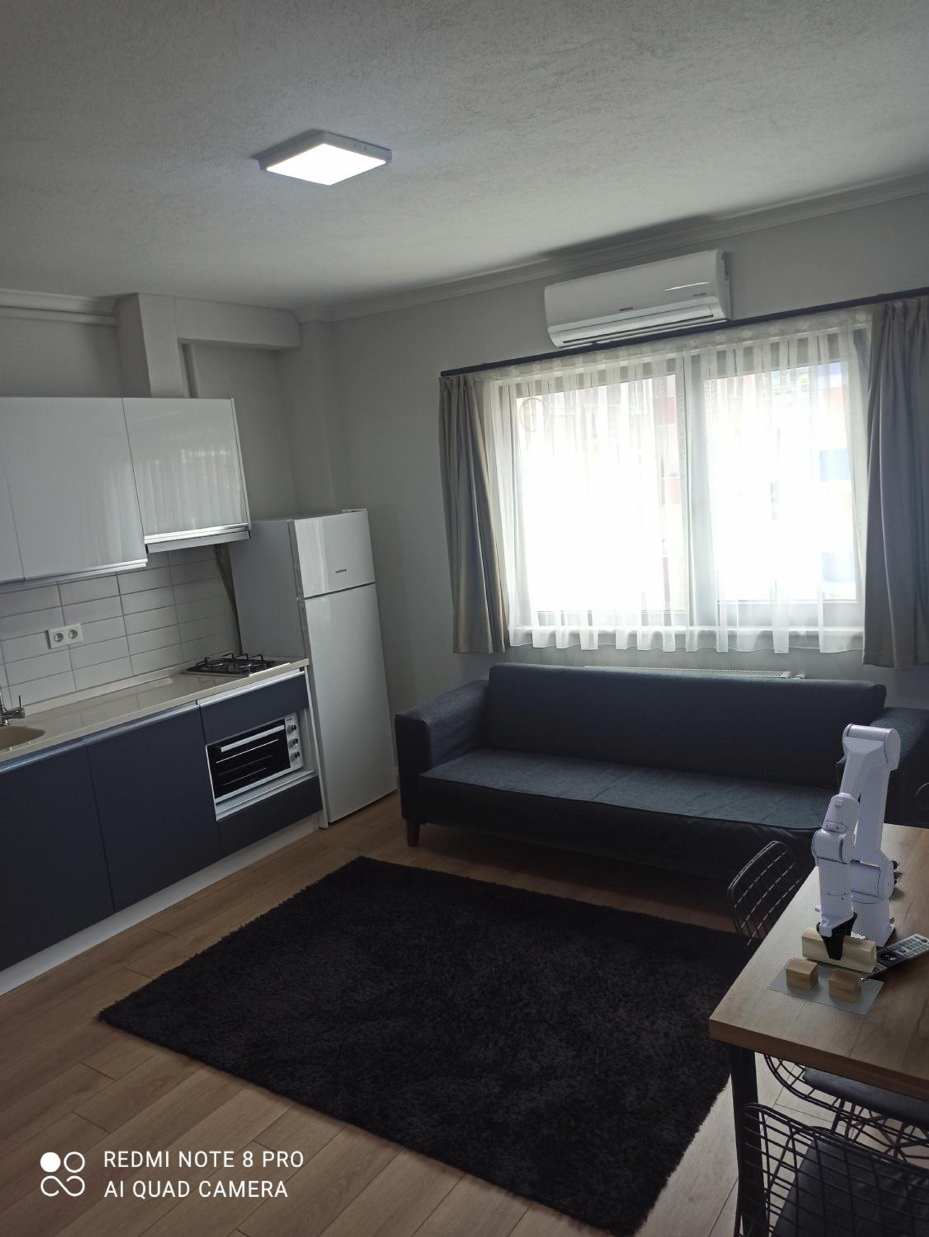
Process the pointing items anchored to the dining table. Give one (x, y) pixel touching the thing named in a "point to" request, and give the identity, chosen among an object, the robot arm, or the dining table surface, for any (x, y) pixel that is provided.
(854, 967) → the plank
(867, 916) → the robot arm
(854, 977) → the block
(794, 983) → the block
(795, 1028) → the dining table surface
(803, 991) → the mat
